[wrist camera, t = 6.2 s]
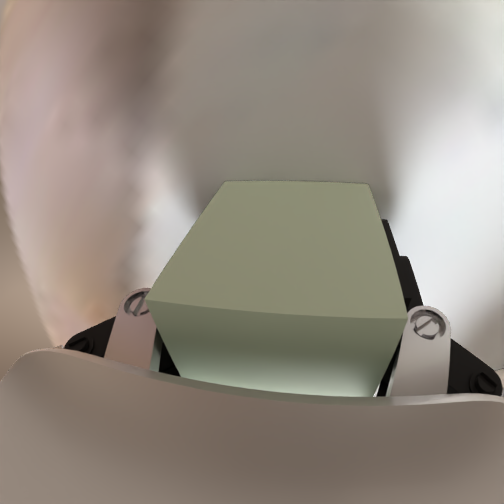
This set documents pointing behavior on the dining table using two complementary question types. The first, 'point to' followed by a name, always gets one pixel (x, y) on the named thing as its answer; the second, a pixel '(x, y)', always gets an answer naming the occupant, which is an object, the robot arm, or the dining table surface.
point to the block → (283, 291)
